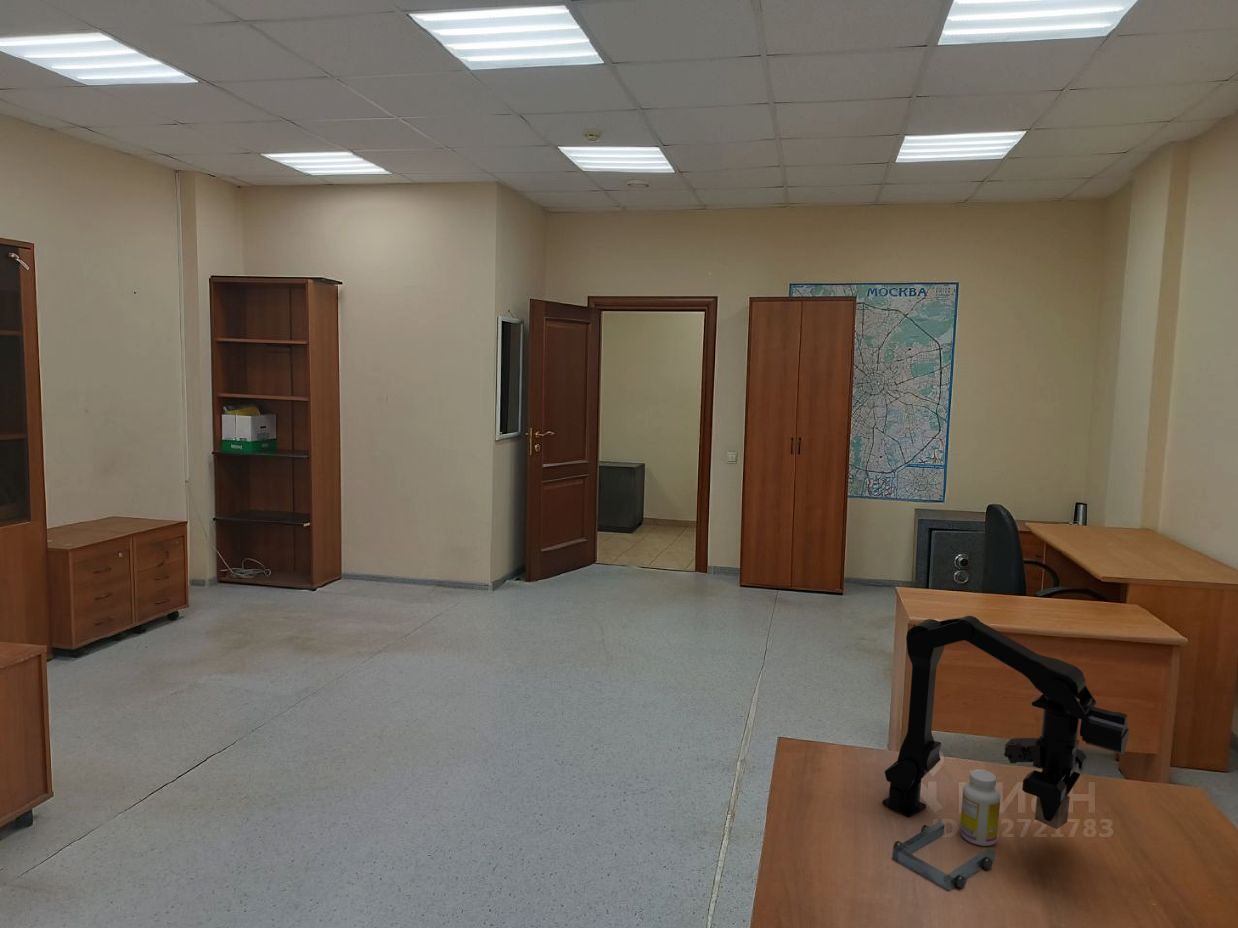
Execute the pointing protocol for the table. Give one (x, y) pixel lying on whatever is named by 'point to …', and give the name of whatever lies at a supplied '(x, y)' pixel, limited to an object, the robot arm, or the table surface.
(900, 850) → the grey metal u-shaped frame
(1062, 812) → the brown block
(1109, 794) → the table surface
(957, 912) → the table surface
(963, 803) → the supplement bottle
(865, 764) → the table surface
